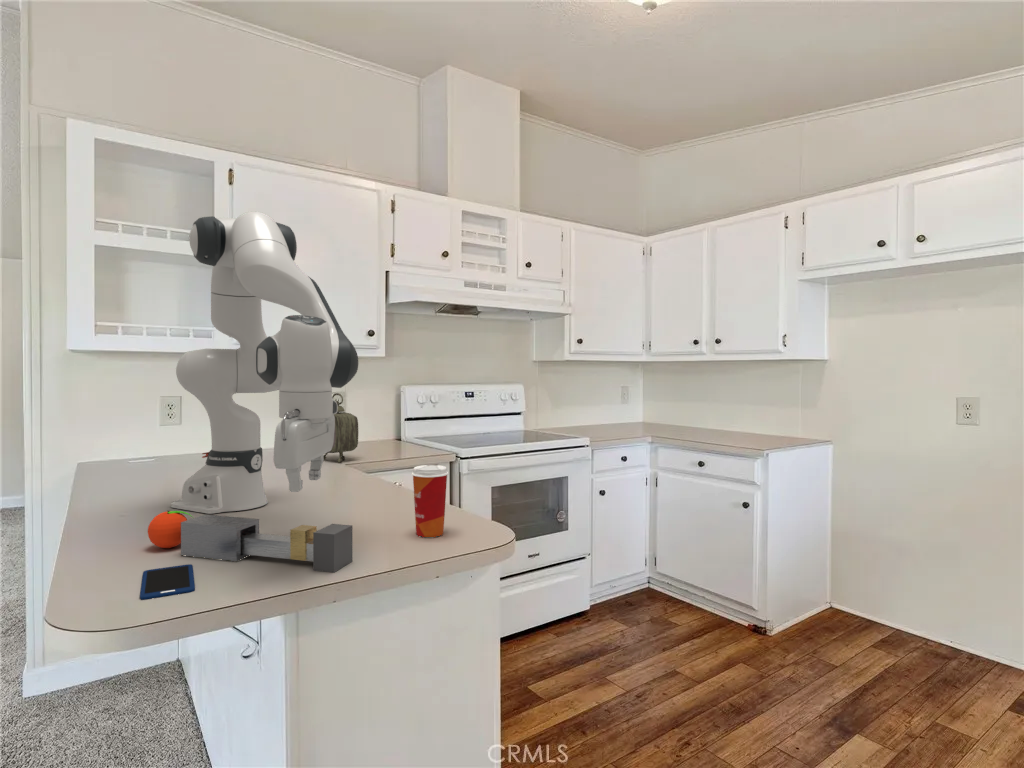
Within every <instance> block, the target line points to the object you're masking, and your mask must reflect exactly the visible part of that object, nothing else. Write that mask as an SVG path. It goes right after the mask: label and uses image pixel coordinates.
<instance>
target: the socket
mask: <svg viewBox="0 0 1024 768" xmlns="http://www.w3.org/2000/svg"><path fill="white" fill-rule="evenodd" d="M352 562H353V525H352V524H342V523H331V524H328V525H327V526H325V527H322V528H320V529H317V531H316V532H313V561H312V563H313V564H312V567H313V568H312V569H313V570H312V571H315V572H316V571H319V572H326V573H336V572H337V571H339V570H340V569H342V568H344V567H345V566H347V565H349V564H350V563H352Z"/></svg>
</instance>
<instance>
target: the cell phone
mask: <svg viewBox="0 0 1024 768" xmlns="http://www.w3.org/2000/svg"><path fill="white" fill-rule="evenodd" d="M194 575H195V574H194V566H193V564H191V563H190V564H189V563H188V564H181V565H180V564H179V565H173V566H168V567H166V566H165V567H160V568H158V567H157V568H152V569H146V570H144V571H142V576H141V584H140V585H141V586H140V593H139V600H140V599H141V600H140V601H147V600H152V598H154V599H157V598H158V599H159V598H166V597H172V596H178V594H179V595H182V594H184V595H185V594H189V593H193V592H195V591H196V583H195V576H194Z"/></svg>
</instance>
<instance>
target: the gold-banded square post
mask: <svg viewBox="0 0 1024 768" xmlns="http://www.w3.org/2000/svg"><path fill="white" fill-rule="evenodd" d="M316 531H318V528H317V526H316V525H307V524H306V525H305V524H301V525H299V526H296V527H294V528H291V529H290V534H289V535H290V536H288V535H287V536H286V535H278V534H269V533H268V534H267V533H259V534H258V533H247V532H244V533H242V534H240V538H241V554H246V555H251V556H258V557H267V558H275V559H287V560H294V561H295V560H296V561H305V562H313V532H316Z"/></svg>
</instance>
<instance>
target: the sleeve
mask: <svg viewBox="0 0 1024 768" xmlns="http://www.w3.org/2000/svg"><path fill="white" fill-rule="evenodd" d="M244 532H247V533H258V534H260V518H252V517H251V518H250V517H240V516H227V515H216V514H203V515H200V516H197V517H192V518H190V519H187V521H184V522H181V543H180V553H181V554H180V556H181V555H186V556H194V557H193V558H195V557H205V558H213V559H212V560H214V559H222V560H221V561H223V560H231V561H230V562H232V561H238V560H240V559H242V558H244V557H246V556H249V555H246V554H241V538H240V534H242V533H244ZM186 556H185V557H186ZM249 557H250V556H249ZM244 559H245V558H244ZM242 560H243V559H242ZM240 561H241V560H240ZM238 562H239V561H238Z"/></svg>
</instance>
